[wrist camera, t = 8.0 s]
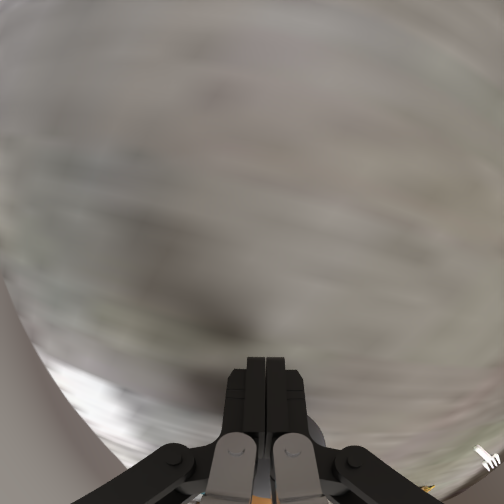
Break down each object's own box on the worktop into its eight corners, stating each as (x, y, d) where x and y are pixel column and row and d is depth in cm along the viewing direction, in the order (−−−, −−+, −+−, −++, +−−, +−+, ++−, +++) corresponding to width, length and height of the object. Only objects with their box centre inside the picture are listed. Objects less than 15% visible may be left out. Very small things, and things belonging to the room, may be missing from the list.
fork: (485, 435, 21) (490, 446, 19) (499, 454, 27) (502, 462, 25) (463, 450, 22) (467, 461, 21) (483, 464, 28) (486, 472, 26)
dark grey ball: (246, 525, 10) (242, 465, 16) (348, 494, 11) (322, 438, 16) (199, 466, 10) (207, 405, 16) (323, 427, 10) (297, 374, 16)
